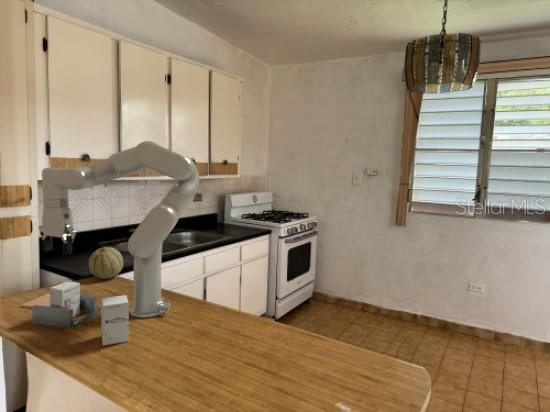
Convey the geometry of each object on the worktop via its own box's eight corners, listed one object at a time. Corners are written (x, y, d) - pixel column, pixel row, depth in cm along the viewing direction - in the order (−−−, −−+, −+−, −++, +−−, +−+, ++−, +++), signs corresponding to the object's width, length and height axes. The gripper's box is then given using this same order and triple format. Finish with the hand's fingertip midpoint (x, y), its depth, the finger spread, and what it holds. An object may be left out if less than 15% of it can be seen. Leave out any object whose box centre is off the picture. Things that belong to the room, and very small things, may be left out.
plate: (78, 298, 145) (78, 296, 145) (53, 310, 133) (53, 308, 133) (48, 295, 147) (48, 293, 147) (21, 307, 135) (21, 304, 135)
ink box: (62, 323, 122) (61, 289, 121) (49, 322, 123) (48, 288, 122) (80, 314, 131) (80, 281, 129) (68, 312, 132) (67, 280, 130)
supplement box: (102, 346, 108) (101, 305, 107) (101, 336, 115) (100, 297, 114) (129, 342, 112) (128, 302, 110) (126, 332, 118) (126, 294, 117)
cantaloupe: (124, 272, 181) (123, 242, 180) (122, 281, 168) (122, 249, 166) (90, 274, 176) (90, 243, 175) (86, 284, 162) (86, 250, 161)
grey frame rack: (100, 313, 132) (100, 297, 131) (75, 328, 119) (75, 310, 119) (61, 308, 134) (60, 293, 134) (32, 323, 122) (32, 306, 121)
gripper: (83, 204, 126) (85, 253, 128) (49, 201, 133) (51, 247, 135) (63, 206, 119) (65, 257, 121) (28, 203, 126) (30, 251, 128)
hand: (57, 252), depth 128 cm, fingers open, 9 cm apart
